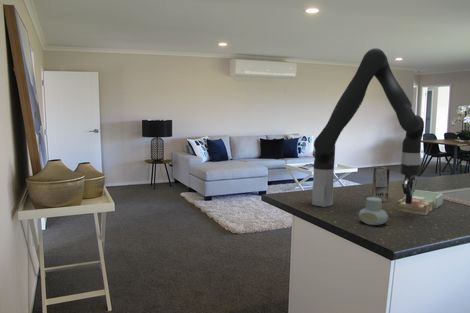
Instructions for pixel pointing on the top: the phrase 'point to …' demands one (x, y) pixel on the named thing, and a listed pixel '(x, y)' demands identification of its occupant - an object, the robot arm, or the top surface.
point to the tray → (430, 197)
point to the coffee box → (380, 183)
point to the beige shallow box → (415, 207)
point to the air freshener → (373, 212)
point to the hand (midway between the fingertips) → (408, 203)
